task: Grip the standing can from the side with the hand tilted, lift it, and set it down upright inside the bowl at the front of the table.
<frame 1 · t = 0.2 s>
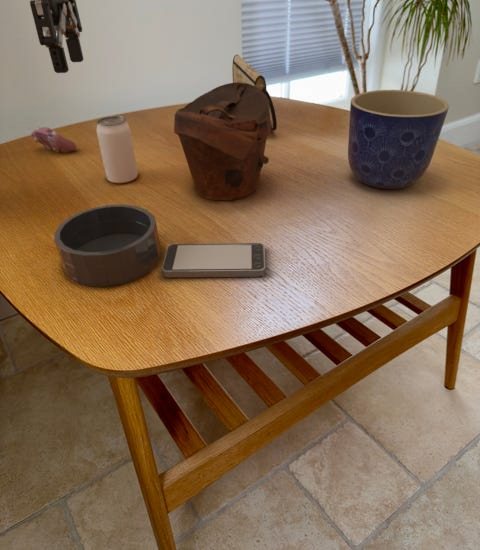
hand: (70, 66, 76), 22 cm above the table, tool pointing down, fingers open, 8 cm apart
smartphone: (215, 263, 66), on the table
raw meat chunk: (56, 151, 106), on the table
bowl: (113, 257, 67), on the table
can: (123, 178, 92), on the table
case: (226, 188, 87), on the table
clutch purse: (255, 123, 119), on the table
planter: (383, 180, 88), on the table
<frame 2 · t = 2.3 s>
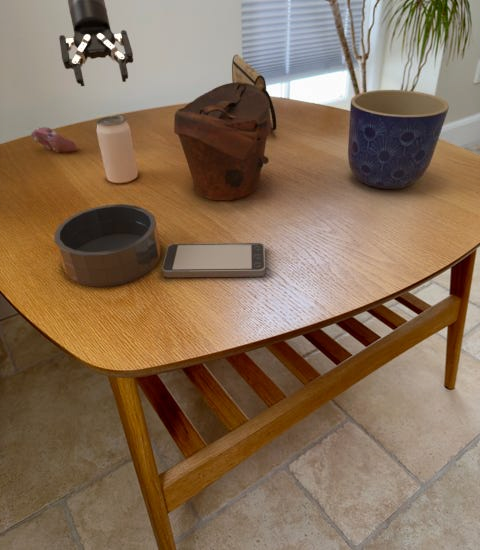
hand: (103, 81, 90), 17 cm above the table, tool tilted 45°, fingers open, 8 cm apart
nothing on the table moved.
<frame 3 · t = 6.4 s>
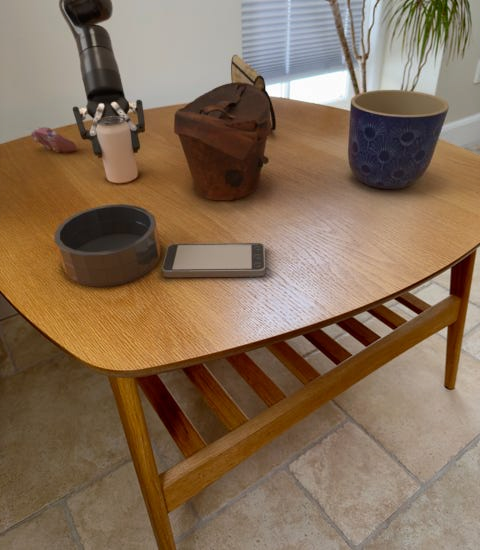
hand: (118, 153, 87), 6 cm above the table, tool tilted 45°, fingers closed on can, 6 cm apart
can: (123, 178, 92), on the table, touching gripper
everything else where it was.
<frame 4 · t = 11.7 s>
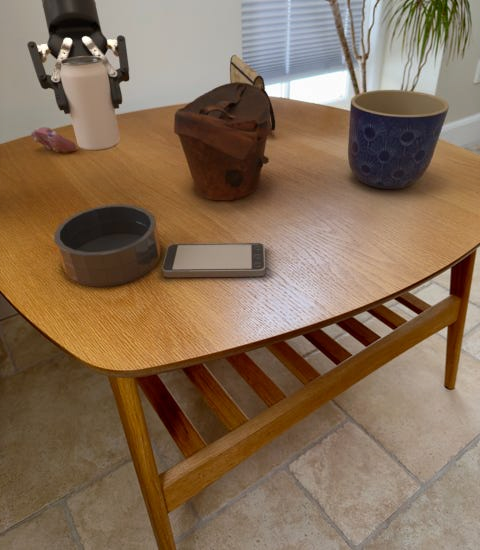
hand: (91, 108, 63), 20 cm above the table, tool tilted 45°, fingers closed on can, 6 cm apart
can: (99, 145, 68), point 14 cm above the table, touching gripper
everything else where it was.
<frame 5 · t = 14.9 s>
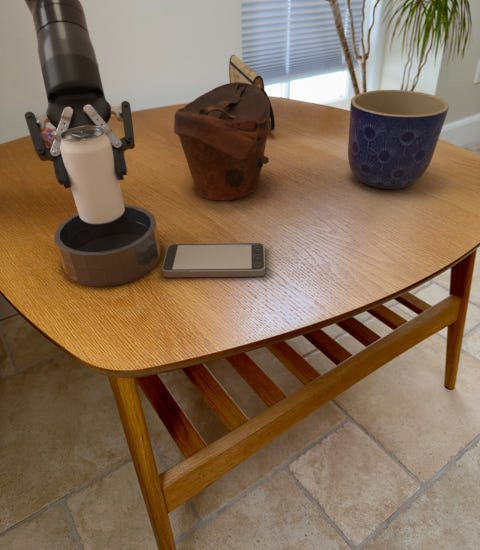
hand: (94, 181, 58), 13 cm above the table, tool tilted 45°, fingers closed on can, 6 cm apart
can: (103, 215, 63), point 7 cm above the table, touching gripper
everything else where it was.
when the fingers open (6 cm above the table, at t = 17.4 s): can stays where it is, resting on bowl.
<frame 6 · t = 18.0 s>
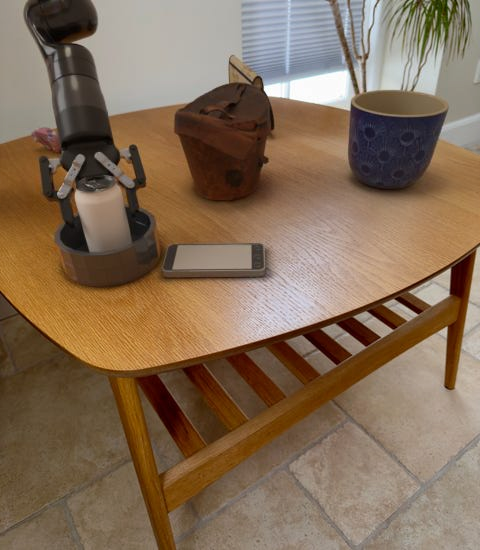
hand: (103, 221, 62), 7 cm above the table, tool tilted 45°, fingers open, 8 cm apart
can: (113, 255, 67), resting on bowl
everything else where it was.
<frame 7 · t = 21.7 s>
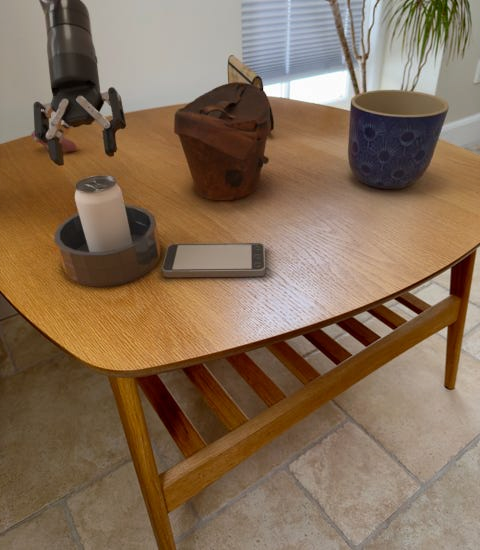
hand: (84, 159, 69), 12 cm above the table, tool tilted 45°, fingers open, 8 cm apart
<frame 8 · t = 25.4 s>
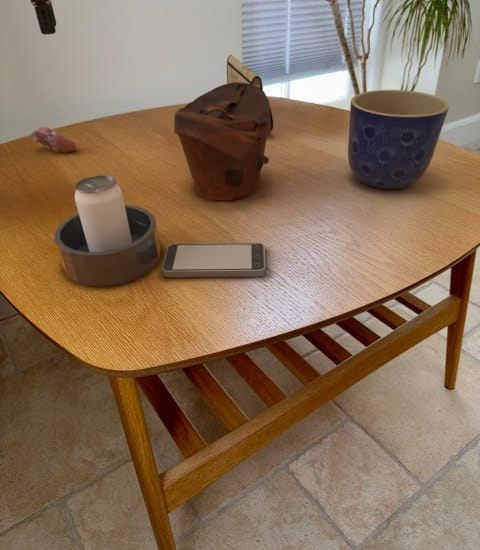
hand: (49, 30, 72), 28 cm above the table, tool pointing down, fingers open, 8 cm apart
at the end: can 0.1 cm off-centre in the bowl, point 0.3 cm above the bowl's base; can tilted 0°; the gripper is holding nothing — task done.
